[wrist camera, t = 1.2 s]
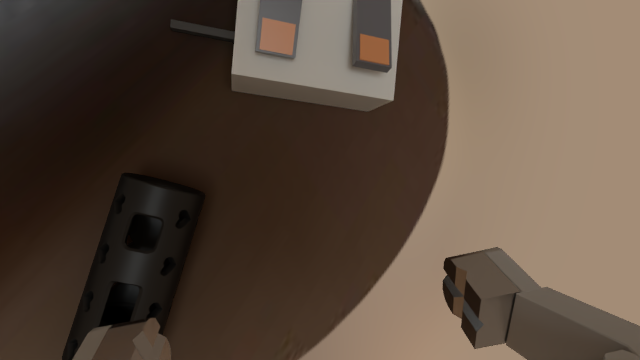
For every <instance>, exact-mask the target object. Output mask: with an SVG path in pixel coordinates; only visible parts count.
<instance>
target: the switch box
mask: <svg viewBox="0 0 640 360" xmlns="http://www.w3.org/2000/svg"><path fill="white" fill-rule="evenodd" d="M259 5H260V0H238V5H237V17H236V28H235V32H232V31H227V30H222V29H217V28H212V27H207V26H202V25H197V24H192V23H187V22H182V21H177V20H172V19H171V25H170V28H171V30H172V31H177V32H182V33H187V34H192V35H198V36H203V37H208V38H213V39H218V40H224V41H229V42H234V51H233V62H232V73H231V75H232V91H236V92H243V93H249V94H256V95H262V96H269V97H275V98H282V99H289V100H295V101H302V102H308V103H315V104H321V105H328V106H334V107H341V108H348V109H354V110H361V111H367V112H368V111H370V110H373V109H375V108H377V107H380V106H382V105H384V104H387V103H389V102H391V101H393V100H394V88H395V77H396V66H397V55H398V44H399V33H400V22H401V11H402V0H391V46H392V68H391V69H390V70H389V71H388V72H387V73H385V72H380V71H375V70H369V69H364V68H359V67H354V66H352V53H353V0H302V7H301V15H300V23H299V32H298V40H297V48H296V57H295V59H290V58H284V57H279V56H274V55H268V54H263V53H258V52H255V47H256V36H257V26H258V15H259Z"/></svg>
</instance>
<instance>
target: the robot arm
mask: <svg viewBox="0 0 640 360" xmlns="http://www.w3.org/2000/svg"><path fill="white" fill-rule="evenodd" d="M444 270H445V271H446V273H447V276H446V277H445V278H444V280H443V293H444V297H445V300H446V302H447V305H448V307H449V308H450V310H451V312H452V313H453V314H454V315H456V316H457V317H459V318H461V319H462V324H461V328H462V329H463V331H464V333H465V334H466V336H467V337H468V339H469V341H470V342H471V343H472V345H473V347H474V349H476V348H482V347H487V346H493V345H498V344H502V343H506V345H507V346H508V347H510V348H511V349H513V350H514V351H516V352H517V353H519V354H520V355H521V356H523V357H524V358H526V359H527V360H640V326H638V325H636V324H634V323H631V322H629V321H626V320H624V319H621V318H619V317H617V316H615V315H612V314H610V313H608V312H605V311H603V310H600V309H598V308H595V307H593V306H591V305H588V304H586V303H584V302H581V301H579V300H577V299H574V298H572V297H569V296H567V295H565V294H562V293H560V292H558V291H555V290H553V289H551V288H548V287H544V288H541V287H540V286H539V285H538V284H537V283H536V282H535V281H534V280H533V279H532V278H531V277H530V276H528V274H527V273H526V272H525V271H524V270H523V269H521V268H520V267H519V266H518V265H517V264H516V263H515V262H514V261H513V260H512V259H511V258H510V257H509V256H508V255H507V254H506V253H505V252H504V251H503V250H502V249H500V248H498V247H495V248H491V249H486V250H482V251H477V252H472V253H467V254H463V255H458V256H453V257H448V258H446V259H445V261H444ZM159 329H160V325H159V323H158V322H157V320H156V318H146V319H140V320H135V321H129V322H123V323H118V324H113V325H109V326H103V327H97V328H94V329H92V330H91V331H90V332H89V333H88V334H87V336H86V337H85V339H84V341H83V342H82V344H81V346H80V347H79V349H78V351H77V353H76V354H75V356H74V358H73V359H72V360H171V349H170V344H169V342H168V340H167V338H166V337H165V336H163V335H161V334H159V333H158V331H159Z"/></svg>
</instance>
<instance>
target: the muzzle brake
mask: <svg viewBox="0 0 640 360" xmlns="http://www.w3.org/2000/svg"><path fill="white" fill-rule="evenodd" d="M205 196H206V195H205V193H203V192H201V191H199V190H196V189H193V188H190V187H187V186H184V185H180V184H177V183H173V182H169V181H166V180H162V179H157V178H153V177H149V176H144V175H139V174H133V173H123V174H122V175H121V178H120V181H119V184H118V187H117V190H116V193H115V196H114V199H113V202H112V205H111V208H110V211H109V214H108V217H107V220H106V224H105V227H104V230H103V233H102V236H101V239H100V242H99V245H98V248H97V251H96V254H95V257H94V260H93V263H92V266H91V269H90V272H89V276H88V279H87V282H86V285H85V288H84V291H83V294H82V297H81V300H80V303H79V306H78V309H77V312H76V315H75V318H74V321H73V324H72V328H71V331H70V334H69V337H68V340H67V343H66V346H65V349H64V352H63V356H62V360H72V359H73V358H74V356H75V354H76V353H77V351H78V349H79V347H80V346H81V344H82V342H83V341H84V339H85V337H86V336H87V334H88V333H89V332H90V331H91V330H92V329H94V328H97V327H103V326H109V325H113V324H118V323H123V322H129V321H135V320H140V319H146V318H156V320H157V322H158V323H159V325H160V329H159V331H158V333H159V334H161V335H162V334H163V331H164V328H165V324H166V321H167V318H168V315H169V311H170V308H171V304H172V300H173V298H174V295H175V292H176V289H177V286H178V283H179V279H180V276H181V273H182V270H183V266H184V263H185V258H186V256H187V254H188V251H189V247H190V244H191V241H192V238H193V235H194V231H195V228H196V225H197V221H198V216H199V215H200V212H201V209H202V206H203V203H204V199H205ZM128 235H130V237H131V239H132V240H133V241H132V242H131V243H129V244H128V245H127V243H126V242H127V237H128ZM115 282H117V283H116V284H115V285H113V284H114V283H115ZM112 285H113V286H112Z"/></svg>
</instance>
